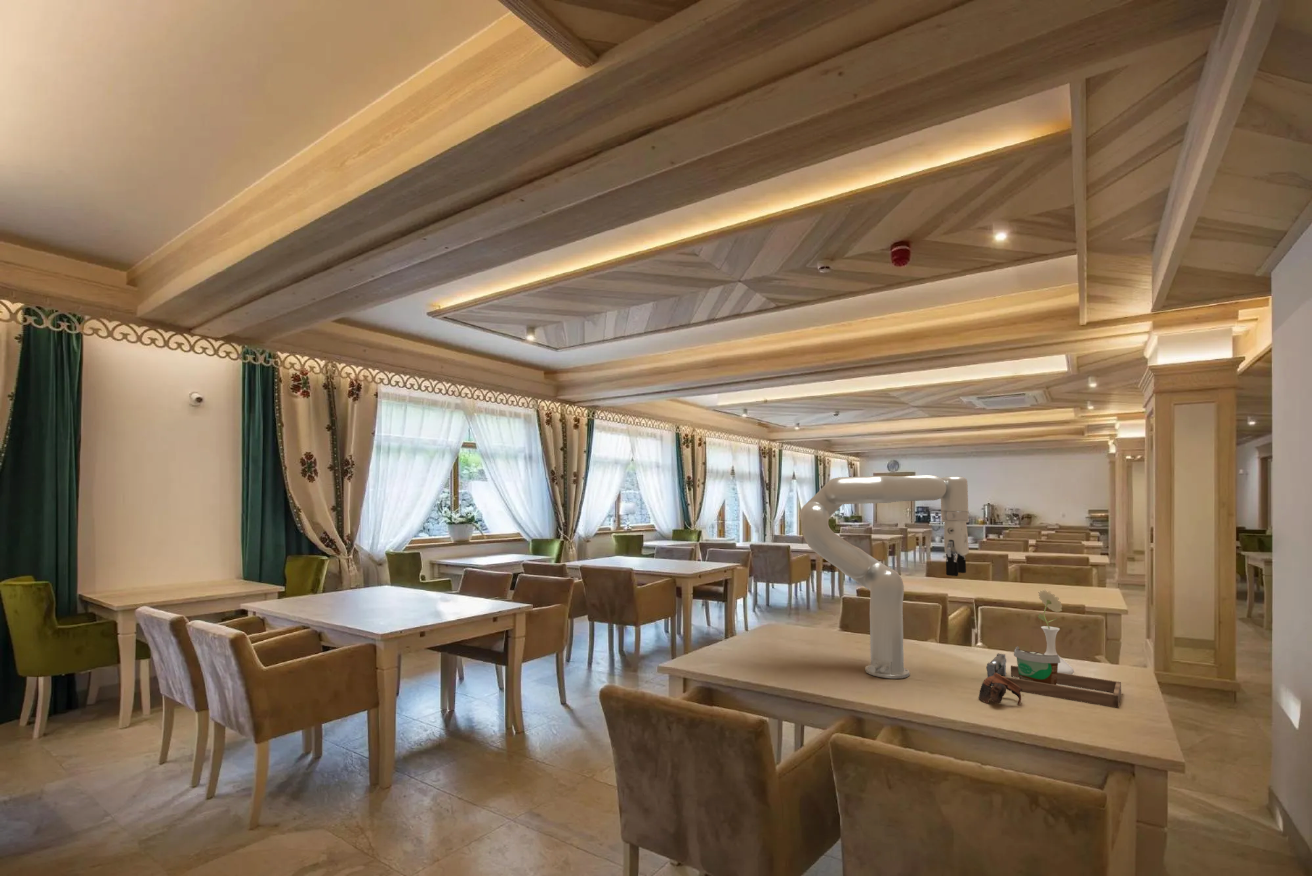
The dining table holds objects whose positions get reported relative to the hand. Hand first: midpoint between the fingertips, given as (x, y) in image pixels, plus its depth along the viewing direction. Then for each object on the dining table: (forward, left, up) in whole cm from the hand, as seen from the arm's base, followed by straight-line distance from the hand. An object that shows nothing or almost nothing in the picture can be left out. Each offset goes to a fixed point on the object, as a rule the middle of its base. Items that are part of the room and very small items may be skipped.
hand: (956, 574), depth 197 cm
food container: (+2, -19, -31) cm, 36 cm away
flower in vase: (+23, -21, -31) cm, 44 cm away
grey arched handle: (+5, -9, -30) cm, 32 cm away
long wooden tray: (+4, -25, -30) cm, 39 cm away
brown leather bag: (-19, -14, -31) cm, 39 cm away
